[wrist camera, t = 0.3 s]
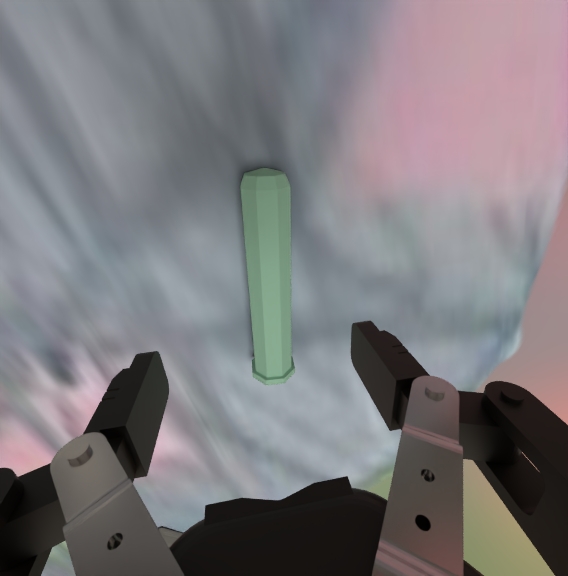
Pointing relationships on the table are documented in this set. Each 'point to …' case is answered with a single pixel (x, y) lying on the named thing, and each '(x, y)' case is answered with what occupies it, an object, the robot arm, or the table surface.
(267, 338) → the green faceted rod
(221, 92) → the table surface
